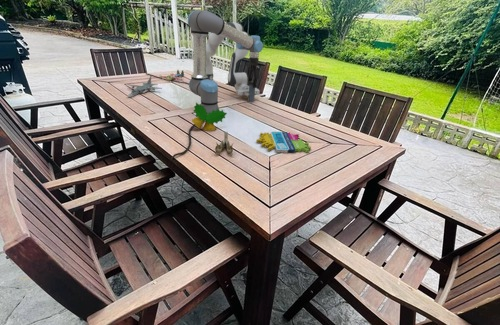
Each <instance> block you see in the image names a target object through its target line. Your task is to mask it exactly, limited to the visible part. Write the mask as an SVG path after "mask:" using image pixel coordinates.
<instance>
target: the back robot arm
mask: <svg viewBox="0 0 500 325" xmlns="http://www.w3.org/2000/svg"><path fill="white" fill-rule="evenodd" d="M225 23H226V24H228V25H230V26H232V27H234V28H235V29H237V30H239V31H241V32H243V33H244V34H246V35H248V32H246V31H244V27H243V24H241V23H239V22H235V21H233V22H232V21H228V22H226V21H225ZM248 36H249V35H248ZM225 38H226V37H224V36H222V35H216V34H214V33H211V32H210V33H209V35H208V39H207V41H206V75H207V76H208V80H213V81H215V80H214V66H213V63H212V61H211V60H212V59H211V58H212V57H214V56H215V55H216V54H217V51H218V48H219V46H220V45H221V43H222V42H223V40H225ZM236 44H237V43H236V42H235V50H234V52H233V53H231V57H230V64H229V70H228V74H227V83H229V84H230V85H231V86H234V89H235V90H234V93H236V95H237V96H240V97H241V96H242V97H243V96H245V97H248V96H249V86H248V77H247V72H236V66H237V63H238V61H240V60H242V59H244V58H246V57H247V56H248V54H249V52H250V51H249V50H244V49H242V50H241V49H238V48H237V45H236ZM145 75H148V76H151V77H155V78H157V79H160V80H165V79H166V78H163V77H162V78H160V76H157V75H153V74H151V73H147V72H145ZM165 81H166V80H165ZM169 82H175V83H181V84H185V85H189V82H186V81H185V82H184V81H180V80H179V81H178V80H174V79H171V80H170V81H169ZM257 95H260V89H259V88H257V87H256V88H255V96H257Z"/></svg>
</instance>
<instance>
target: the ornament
mask: <svg viewBox="0 0 500 325" xmlns="http://www.w3.org/2000/svg"><path fill="white" fill-rule="evenodd" d="M219 110H220V108H219V109H217V110H216V111H214V110H212V112H211V113H208V112H206V109H204V106H201V103H198V102H195V105H194V106H193V112H194V113H195V118H192V119H191V122H192V123H193V125H194V124H195V127H197V128H198V129H202V130H203V131H206V132H212V131H213V132H214V131H215V130H216V126H215V124H218V123H219V122H223V119H226V115H227V114H228V113H227V112H224V110H223V109H221V110H220V111H219ZM207 113H208V115H207ZM214 123H215V124H214Z"/></svg>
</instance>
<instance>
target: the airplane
mask: <svg viewBox="0 0 500 325" xmlns="http://www.w3.org/2000/svg"><path fill="white" fill-rule="evenodd" d="M158 85H159V84H158V83H152V76H151V75H149V78H148V80H147V82H142V85H138V84H137V85H136V84H129V83H128V84H127V86H129V87H131V88H130V90H131V92H130V93H129V94H128V95H127V98H133V97H135V96H137V95H139V94H145V93H147V92H150V91H151V93H152V92H154V91H155V90H156V89H159V90H160V89H162V87H155V86H158Z"/></svg>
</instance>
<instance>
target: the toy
mask: <svg viewBox="0 0 500 325" xmlns="http://www.w3.org/2000/svg"><path fill="white" fill-rule="evenodd" d="M184 76H185V72H184V70H183V69H182V70H181V72H180V70H179V69H177V70H176V73H170V74H167V75H166V76H165V75H164V76H163V75H159V77H160V78H159V79H161V78H164V79H165V81H168V82H171V81H170V80H176V81H178V80H179V81H181V82H184V78H182V77H184ZM179 77H180V78H179Z"/></svg>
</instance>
